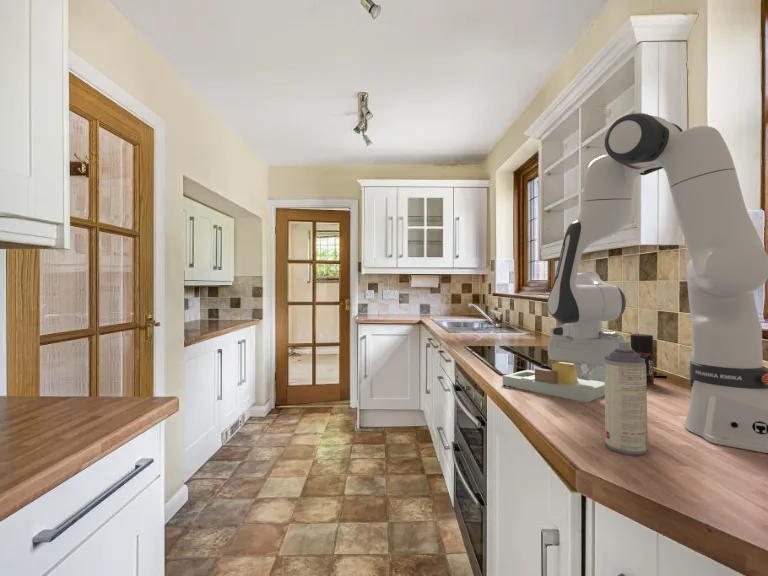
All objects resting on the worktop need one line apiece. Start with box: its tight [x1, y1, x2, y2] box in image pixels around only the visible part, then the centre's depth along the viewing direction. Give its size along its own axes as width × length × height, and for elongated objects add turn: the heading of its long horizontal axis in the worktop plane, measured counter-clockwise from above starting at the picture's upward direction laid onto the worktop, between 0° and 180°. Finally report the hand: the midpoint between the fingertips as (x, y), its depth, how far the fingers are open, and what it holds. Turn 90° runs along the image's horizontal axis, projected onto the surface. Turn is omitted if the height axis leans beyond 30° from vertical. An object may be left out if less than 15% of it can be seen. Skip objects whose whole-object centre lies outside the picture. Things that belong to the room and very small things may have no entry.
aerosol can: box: [604, 340, 649, 457], centre depth 76 cm, size 7×7×20 cm
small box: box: [580, 364, 604, 382], centre depth 132 cm, size 8×6×10 cm
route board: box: [502, 367, 605, 404], centre depth 121 cm, size 26×14×6 cm, turn 38°
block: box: [551, 361, 578, 384], centre depth 118 cm, size 5×5×5 cm
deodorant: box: [630, 333, 655, 386], centre depth 127 cm, size 6×6×15 cm
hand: (584, 379), depth 113 cm, fingers closed
